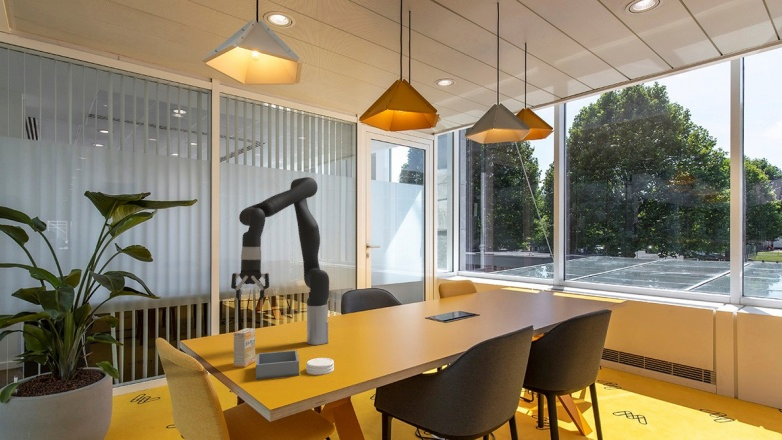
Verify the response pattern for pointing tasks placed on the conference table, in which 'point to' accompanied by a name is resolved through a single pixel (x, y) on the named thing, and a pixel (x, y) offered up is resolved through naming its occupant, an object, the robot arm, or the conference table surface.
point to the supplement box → (244, 347)
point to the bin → (277, 364)
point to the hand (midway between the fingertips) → (250, 299)
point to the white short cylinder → (320, 366)
